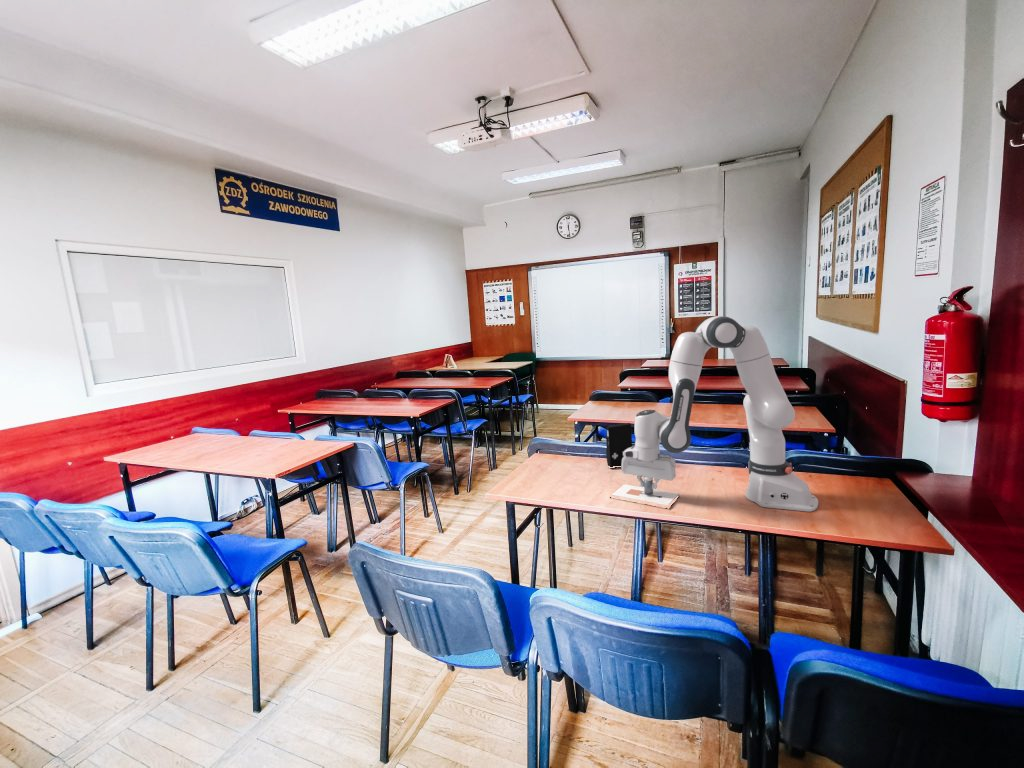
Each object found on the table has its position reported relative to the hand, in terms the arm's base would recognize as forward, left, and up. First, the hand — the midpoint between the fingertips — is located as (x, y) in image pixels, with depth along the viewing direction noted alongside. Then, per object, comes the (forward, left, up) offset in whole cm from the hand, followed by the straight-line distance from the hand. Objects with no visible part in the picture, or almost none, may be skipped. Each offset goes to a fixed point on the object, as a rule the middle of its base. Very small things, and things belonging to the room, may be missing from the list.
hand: (648, 487), depth 169 cm
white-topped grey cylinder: (0, 0, -2) cm, 2 cm away
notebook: (+2, 0, -5) cm, 5 cm away
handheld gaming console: (+25, -29, -5) cm, 39 cm away
